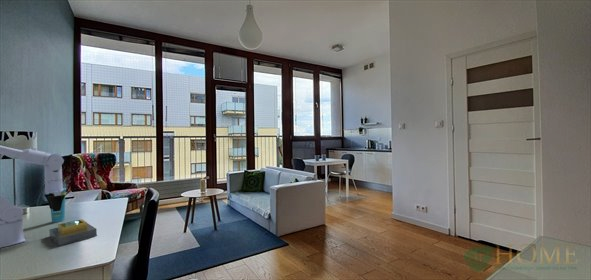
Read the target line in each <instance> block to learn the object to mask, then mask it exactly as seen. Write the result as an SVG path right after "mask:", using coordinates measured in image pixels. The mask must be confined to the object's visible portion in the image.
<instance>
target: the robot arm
mask: <svg viewBox="0 0 591 280" xmlns="http://www.w3.org/2000/svg"><path fill="white" fill-rule="evenodd" d="M0 155H2V156H7V157H14V158H18V159H19V160H20V161H21V162H23V163H30V164H35V165H41V166H42V165H43V166H44V187H45V188H44V189H45V190H44V193H45V194H43V196H44V198H45V199H46V201H47V203H48V207H49V209H50V210H51V209H53V211H54V212H55V211H60V210H61V206H62V201H63V199H64V197H65V198H66V194H65V195H61V192H62V191H63V190H67V187H66V188H63V184H64V183H63V167H62V165H63V164H64V161H65V159H64V158H63V156H61V154H59V153H58V154H57V153H51V152H50V151H42V150H37V148H34V147H31V148H25V149H19V148H18V149H17V148H12V147H9V146H8V147H7V146H4V145H0ZM23 216H24V209H23V208H22V207H21V206H18V205H14V204H13V203H12V202H11V201H9V200H7V199H6V198H5V197H3V195H1V194H0V248H5V247H10V246H13V245H17V244H22V243H25V242H27V240H26V238H25V236H24V228H23V227H24V225H23V221H24V220H23Z"/></svg>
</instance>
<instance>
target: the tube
mask: <svg viewBox="0 0 591 280" xmlns="http://www.w3.org/2000/svg"><path fill="white" fill-rule="evenodd" d="M63 188H66V190H67V183H63ZM66 190H63V191H62V192H61V195H65V197H64V199H63V201H62V206H61V210H60V211H55V212H54V211H53V209H50V215H51V223H60V222H64V221H65V220H66V217H65V216H66Z"/></svg>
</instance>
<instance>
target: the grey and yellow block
mask: <svg viewBox="0 0 591 280" xmlns="http://www.w3.org/2000/svg"><path fill="white" fill-rule="evenodd" d="M75 221H79V224H75V225H71V226H67V227H66V225H65V224H66V223H67V222H63V223H57V227H54V228H49V231H48V233H49V237H50V239H52V241H54V243H55V244H56V245H57V246H58V247H60V246H64V245H68V244H73V243H75V242H79V241H83V240H86V239H91V238H94V237H97V235H98V233H97V228H96V227H95V226H93V225H91V224H90V223H88V221H85V220H84V219H82V218H81V219H77V220H75Z"/></svg>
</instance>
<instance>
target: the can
mask: <svg viewBox="0 0 591 280" xmlns="http://www.w3.org/2000/svg"><path fill="white" fill-rule="evenodd" d="M65 223H66V224H65V225H66V227H67V226H71V225H75V224H79V221H76V220H73V221H68V222H65Z"/></svg>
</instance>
